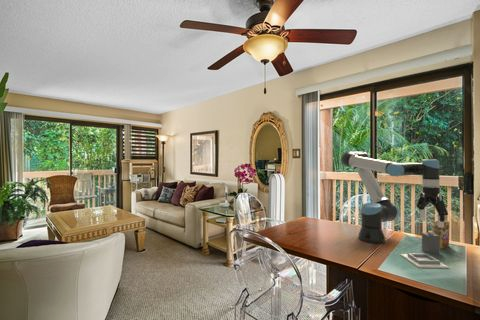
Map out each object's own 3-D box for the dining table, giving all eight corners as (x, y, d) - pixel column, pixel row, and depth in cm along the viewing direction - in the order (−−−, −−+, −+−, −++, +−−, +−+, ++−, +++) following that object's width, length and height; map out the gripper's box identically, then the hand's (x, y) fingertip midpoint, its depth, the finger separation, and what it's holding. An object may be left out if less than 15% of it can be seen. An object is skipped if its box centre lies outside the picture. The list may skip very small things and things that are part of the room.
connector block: (421, 249, 134) (422, 230, 134) (432, 249, 134) (432, 230, 133) (428, 253, 129) (428, 232, 129) (439, 253, 129) (439, 233, 128)
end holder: (400, 255, 127) (400, 251, 127) (427, 255, 126) (427, 251, 126) (418, 267, 113) (418, 263, 113) (448, 268, 112) (448, 263, 112)
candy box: (441, 249, 135) (442, 223, 134) (433, 246, 139) (433, 221, 138) (449, 246, 138) (449, 221, 138) (441, 244, 142) (441, 219, 142)
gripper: (457, 189, 118) (457, 230, 118) (422, 184, 143) (422, 217, 143) (441, 189, 118) (442, 230, 119) (409, 184, 143) (409, 217, 144)
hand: (431, 223), depth 131 cm, fingers open, 13 cm apart
